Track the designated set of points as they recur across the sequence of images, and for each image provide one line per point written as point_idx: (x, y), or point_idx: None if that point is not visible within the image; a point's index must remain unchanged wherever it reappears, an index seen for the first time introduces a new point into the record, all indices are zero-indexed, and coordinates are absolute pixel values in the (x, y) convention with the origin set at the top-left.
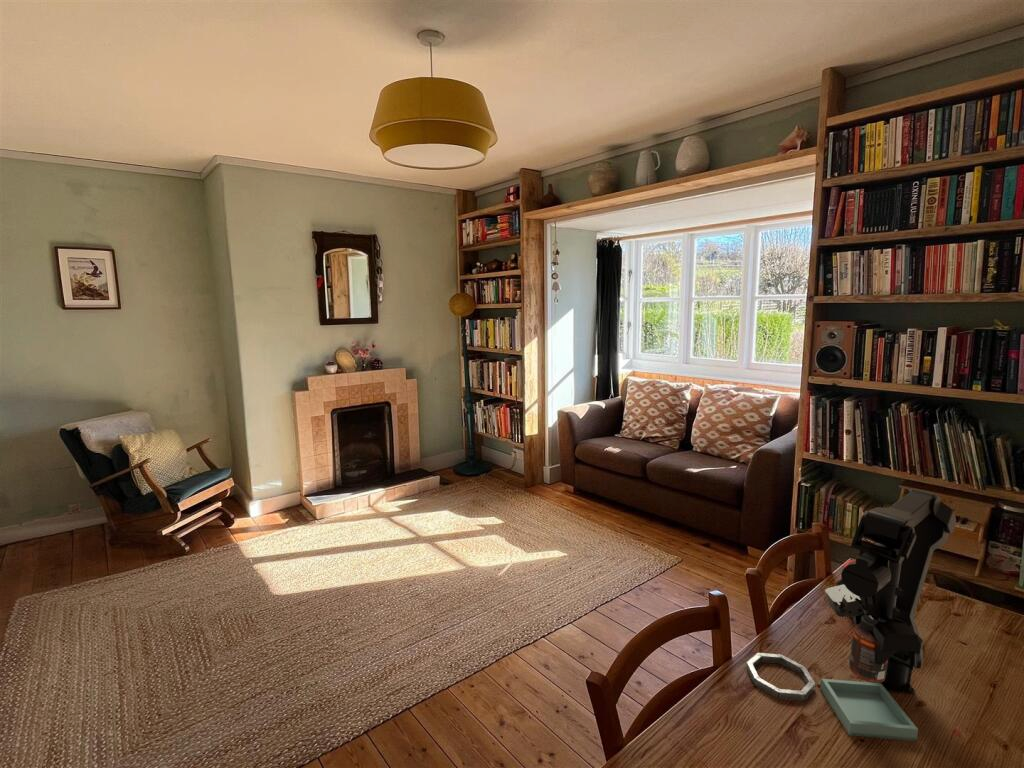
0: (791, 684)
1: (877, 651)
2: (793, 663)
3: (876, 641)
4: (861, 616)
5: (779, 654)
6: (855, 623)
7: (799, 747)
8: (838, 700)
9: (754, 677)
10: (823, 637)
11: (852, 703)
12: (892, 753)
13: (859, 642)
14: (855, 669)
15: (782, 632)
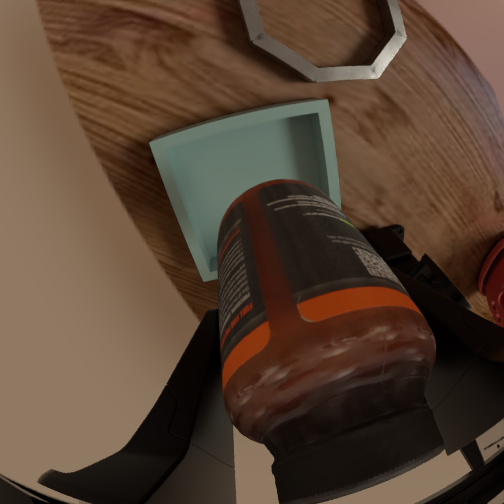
0: (310, 30)
1: (168, 383)
2: (382, 53)
3: (48, 471)
4: (467, 384)
5: (405, 33)
6: (454, 318)
7: (77, 39)
8: (237, 123)
9: None
10: (472, 174)
11: (274, 163)
12: (144, 215)
13: (270, 309)
14: (249, 199)
15: (477, 94)
